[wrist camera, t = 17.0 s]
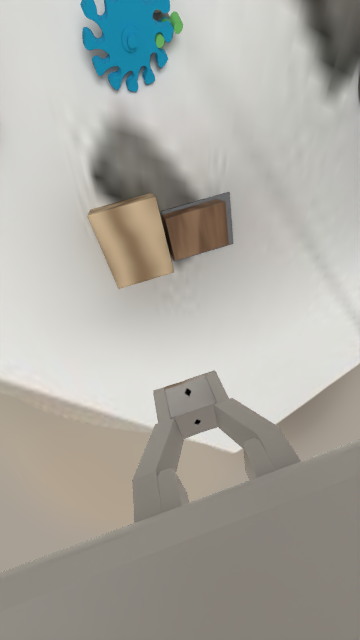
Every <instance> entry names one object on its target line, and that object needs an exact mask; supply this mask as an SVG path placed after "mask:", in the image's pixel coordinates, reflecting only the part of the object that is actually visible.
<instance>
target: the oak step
mask: <svg viewBox="0 0 360 640" xmlns="http://www.w3.org/2000/svg"><path fill="white" fill-rule="evenodd" d="M88 218H89V221H90V223H91V225H92V228H93V230H94V232H95V235H96V237H97V239H98V242H99V244H100V246H101V249H102V251H103V253H104V256H105V258H106V260H107V263H108V265H109V268H110V270H111V272H112V275H113V277H114V279H115V282H116V284H117V286H118V289H120V288H124V287H127V286H130V285H133V284H137V283H140V282H143V281H147V280H150V279H153V278H157V277H160V276H163V275H167V274H170V273H173V272H174V269H173V265H172V261H171V257H170V253H169V249H168V245H167V241H166V237H165V233H164V229H163V225H162V221H161V217H160V213H159V209H158V205H157V200H156V197H155V196H154V195H153V194H152V193H149V194H146V195H142V196H138V197H135V198H131V199H128V200H124V201H120V202H117V203H113V204H110V205H106V206H103V207H99V208H95V209H92V210H90V212H89V214H88Z"/></svg>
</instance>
